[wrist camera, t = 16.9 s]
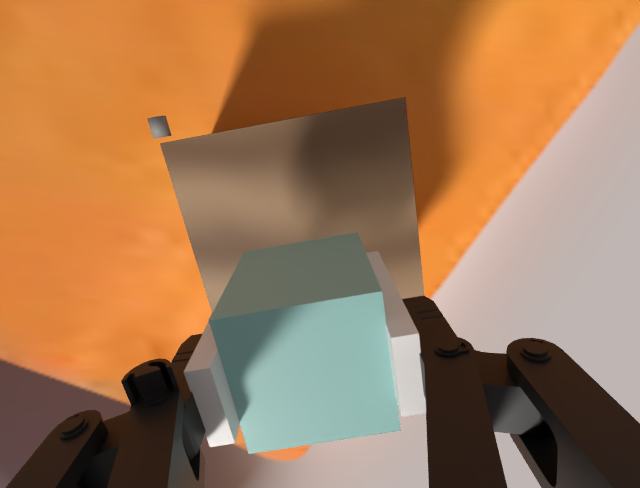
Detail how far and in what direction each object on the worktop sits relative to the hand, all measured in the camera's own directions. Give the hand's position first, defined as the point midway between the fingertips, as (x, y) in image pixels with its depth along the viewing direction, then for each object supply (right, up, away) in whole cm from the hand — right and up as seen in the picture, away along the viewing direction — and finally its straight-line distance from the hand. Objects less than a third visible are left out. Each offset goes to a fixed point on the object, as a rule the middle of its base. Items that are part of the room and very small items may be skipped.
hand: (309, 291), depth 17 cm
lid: (0, +2, +6) cm, 6 cm away
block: (0, 0, 0) cm, 0 cm away
